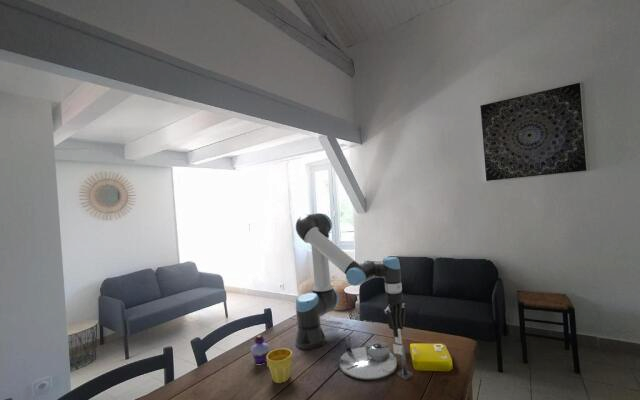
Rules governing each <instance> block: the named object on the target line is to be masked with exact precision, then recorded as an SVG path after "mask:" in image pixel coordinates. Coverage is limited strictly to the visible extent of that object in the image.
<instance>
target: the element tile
mask: <svg viewBox="0 0 640 400" xmlns="http://www.w3.org/2000/svg"><path fill="white" fill-rule="evenodd" d="M409 350H410V357H411V363H412V367H413V370H415V371H424V372H425V371H426V372H427V371H430V372H432V371H433V372H451V371H450V370H452V369H454V368H453V367H454V366H453V359H452V356H451V354H450V352H449V350H448V348H447V345H445V344H444V343H425V342H424V343H421V342H420V343H417V342H416V343H413V342H412V343H410V345H409ZM452 371H453V370H452Z"/></svg>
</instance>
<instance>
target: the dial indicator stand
mask: <svg viewBox="0 0 640 400" xmlns="http://www.w3.org/2000/svg"><path fill="white" fill-rule="evenodd" d="M392 347H393V348H392V350H393V355H394V358H395V357H396V354H397V355H400V357H401V359H400V360H401V367H402V369H401V370H400V371H397V376H398V377H400V378H402V379H403V380H405V381H406V380H408V379H409V378H411V377H413V376H414V375H413V372H412V371H409V370H408V369H407V359H406V348H405V346H404V344H403V343H402V344H399V343H395V342H393V343H392ZM396 358H397V357H396Z"/></svg>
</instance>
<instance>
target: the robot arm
mask: <svg viewBox="0 0 640 400" xmlns="http://www.w3.org/2000/svg"><path fill="white" fill-rule="evenodd" d="M332 227H333V223H332V220H331V217H329V215H327V214H325V213H320V212H319V213H309V214H303V215H301V216H300V217H299V218H298V219H297V220H296V223H295V231H296V234H297V236H298V237H299V238H300V239H301V240H302V241H303V242H304V243H306V244H310V245H311V254H312V255H311V257H312V265H313V266H312V267H313V277H314V278H313V279H314V286H313V287H312V289H311V290H312V292H307V293H303V294H301V295H299V296H298V297H297V298H296V300H295V311H296V320H297V321H296V322H297V332H296V335H295V347H296V348H298V347H299V349H301V350H314V349H318V348H320V347H322V346H323V345H325V343H326V335H325V333H324V331H323V329H322V326H321V325H322V324H321V317H323V316H324V315H326V314H328V313H330V312H332V311H333V310H335V308H337V307H338V304H339V301H340V300H339V295H338V292H337V290H335V288H334V285H332V284H331V277H330V264H329V263H330V262H331V263H332V264H333V265H334V266H335V267H337V268H338V269H339V270H340V271H341V272H342V273H343V274H344V275H345V278H346V281H347V283H348V284H350V285H351V286H354V287H356V286H359V285H362V284H364V283H365V282H367V281H369V280H372V279H373V278H380V279H384V289H385V290H384V291H385V300H386V302H387V304H386V309H385V308H383V313H384V314H385V318H386V320H387V321H386V322H387V324H388V328H389V329H390V330H391V331H393V336H394V341H395V342H394V343H399V344H403V340H402V335H403V330H404V327H405V324H406V313H407V310H406V309H407V306H408V304H406V303H405V302H403V300H404V295H403V294H404V293H403V291H402V290H403V285H402V284H403V283H402V275H401V265H400V259H399V258H398V257H396V256H385V257H383V258H382V261H376V260H363V261H361V262H360V263H358V262H357V261H356V260H354V258H352V257H351V256H349V255H348V254H347V253H346V252H345V251H344V250H343V249H341V248H340V247H339V246H337V244H335V243H334V242H332V240H330V239H329V238H330V232H331V230H332Z"/></svg>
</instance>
